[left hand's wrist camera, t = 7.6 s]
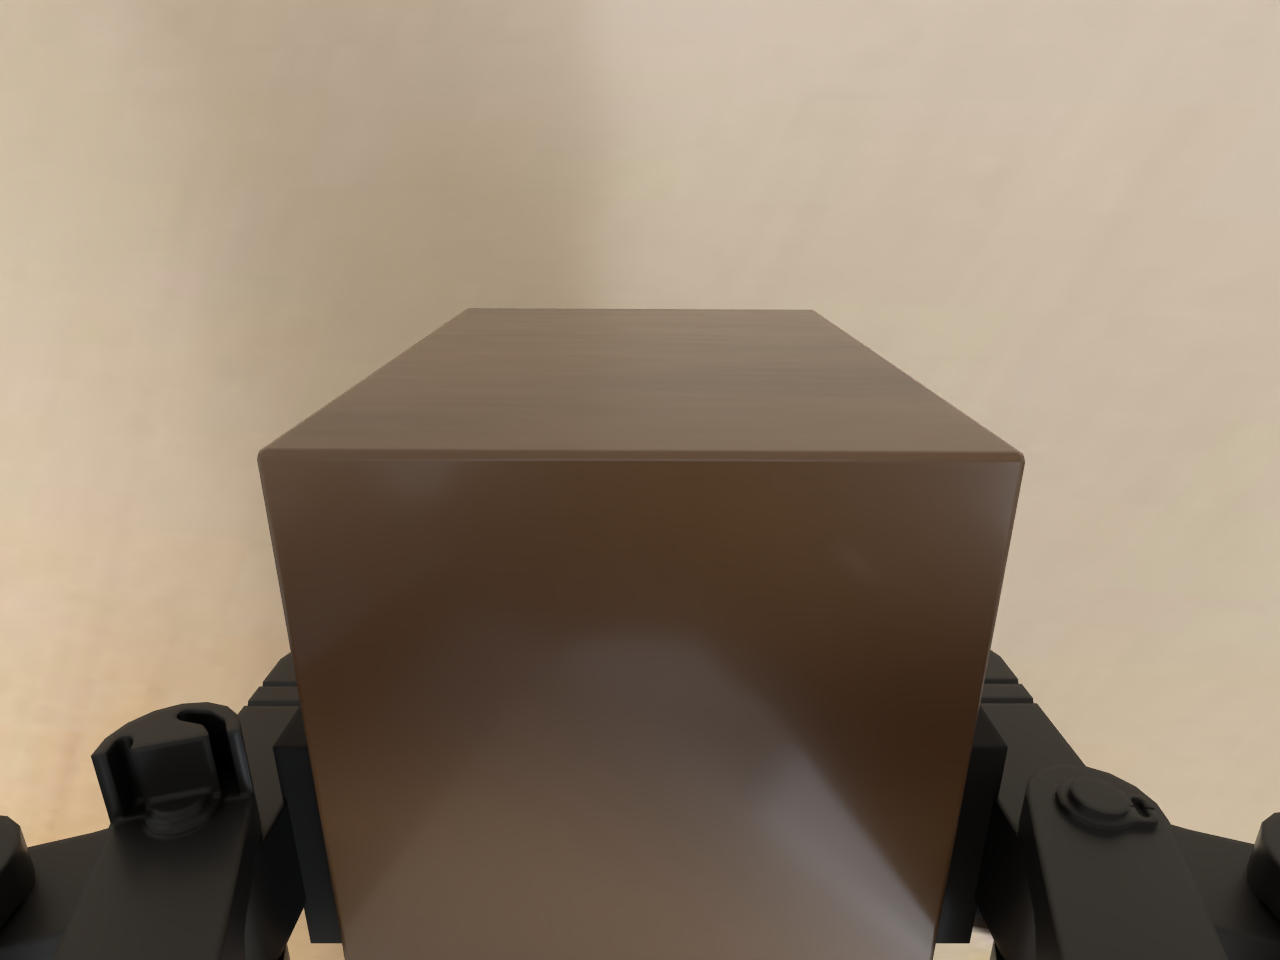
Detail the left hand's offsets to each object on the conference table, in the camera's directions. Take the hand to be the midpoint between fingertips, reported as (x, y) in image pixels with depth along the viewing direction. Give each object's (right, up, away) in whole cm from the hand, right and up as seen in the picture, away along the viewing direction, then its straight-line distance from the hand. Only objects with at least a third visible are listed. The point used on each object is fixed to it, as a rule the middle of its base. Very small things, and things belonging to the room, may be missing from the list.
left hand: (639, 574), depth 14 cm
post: (0, -32, +12) cm, 34 cm away
